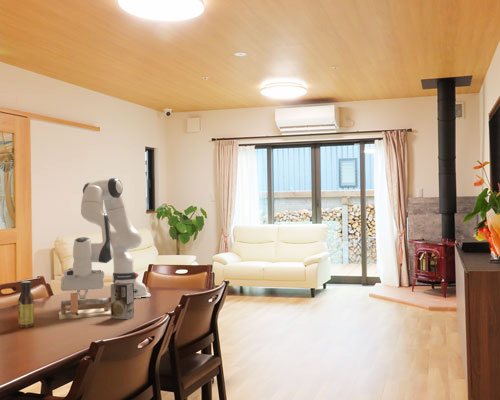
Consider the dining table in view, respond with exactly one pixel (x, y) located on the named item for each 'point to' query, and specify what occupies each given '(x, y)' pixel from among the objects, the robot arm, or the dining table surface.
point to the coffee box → (122, 300)
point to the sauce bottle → (25, 306)
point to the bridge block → (74, 302)
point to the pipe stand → (88, 312)
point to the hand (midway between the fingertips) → (82, 298)
